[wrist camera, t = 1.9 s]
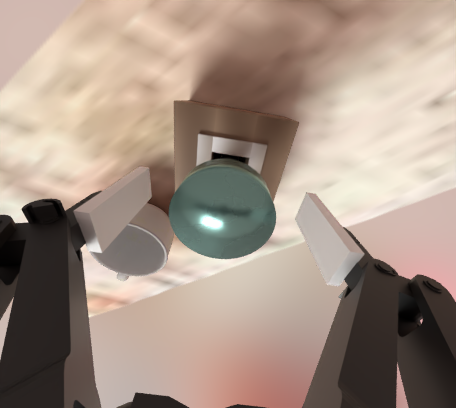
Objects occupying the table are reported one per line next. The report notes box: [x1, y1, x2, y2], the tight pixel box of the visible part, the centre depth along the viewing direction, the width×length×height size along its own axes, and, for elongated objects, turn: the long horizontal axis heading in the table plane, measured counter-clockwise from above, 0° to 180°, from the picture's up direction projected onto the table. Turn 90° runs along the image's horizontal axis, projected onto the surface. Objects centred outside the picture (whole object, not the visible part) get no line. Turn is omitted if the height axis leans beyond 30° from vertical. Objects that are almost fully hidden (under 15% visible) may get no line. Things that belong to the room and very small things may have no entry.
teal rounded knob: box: [169, 153, 276, 259], centre depth 18 cm, size 7×7×15 cm
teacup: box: [89, 203, 174, 281], centre depth 28 cm, size 14×11×8 cm
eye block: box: [174, 100, 299, 201], centre depth 22 cm, size 12×12×6 cm
